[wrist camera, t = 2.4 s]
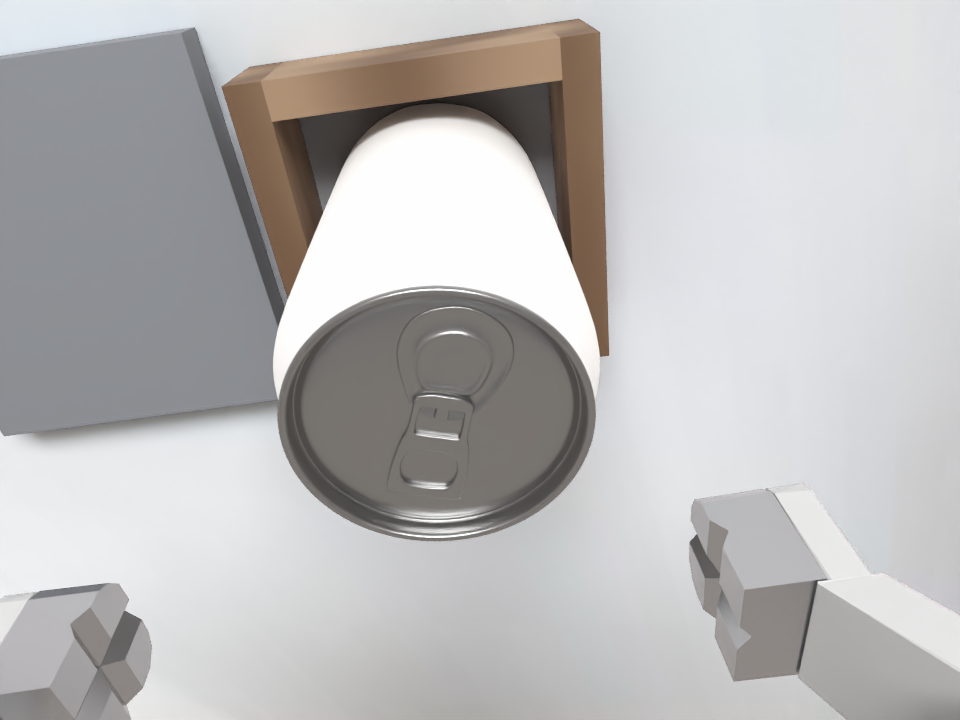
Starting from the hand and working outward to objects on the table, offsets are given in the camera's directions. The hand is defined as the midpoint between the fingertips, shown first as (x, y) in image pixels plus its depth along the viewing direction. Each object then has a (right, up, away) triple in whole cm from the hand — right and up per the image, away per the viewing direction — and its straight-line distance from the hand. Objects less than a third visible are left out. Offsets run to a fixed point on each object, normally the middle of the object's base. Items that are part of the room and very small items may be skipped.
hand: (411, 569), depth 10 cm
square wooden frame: (0, +8, +12) cm, 15 cm away
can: (0, +8, +13) cm, 15 cm away
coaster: (-12, +7, +13) cm, 18 cm away
